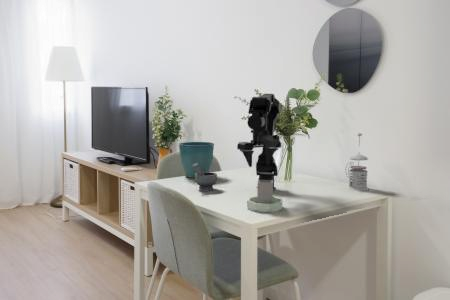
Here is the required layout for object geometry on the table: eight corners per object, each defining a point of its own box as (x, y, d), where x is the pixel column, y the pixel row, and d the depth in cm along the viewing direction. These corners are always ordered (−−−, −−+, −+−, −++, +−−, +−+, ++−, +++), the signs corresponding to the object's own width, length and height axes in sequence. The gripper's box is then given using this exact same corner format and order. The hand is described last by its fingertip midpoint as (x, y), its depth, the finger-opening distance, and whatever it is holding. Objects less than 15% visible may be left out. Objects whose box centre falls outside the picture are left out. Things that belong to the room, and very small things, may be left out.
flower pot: (175, 174, 240) (175, 142, 237) (208, 172, 245) (208, 140, 243) (183, 180, 222) (182, 146, 220) (218, 178, 228) (218, 144, 226)
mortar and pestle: (211, 186, 209) (211, 160, 208) (220, 190, 201) (220, 163, 200) (188, 188, 204) (188, 162, 203) (197, 192, 196) (197, 165, 194)
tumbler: (257, 204, 174) (258, 179, 172) (272, 204, 173) (272, 180, 172) (257, 207, 168) (257, 182, 167) (272, 208, 168) (272, 183, 166)
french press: (373, 189, 204) (376, 133, 201) (353, 191, 198) (356, 134, 195) (358, 185, 212) (360, 131, 209) (338, 187, 207) (340, 132, 204)
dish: (267, 201, 180) (267, 194, 180) (289, 209, 169) (289, 201, 169) (240, 206, 173) (240, 198, 172) (262, 214, 162) (262, 205, 162)
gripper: (253, 130, 173) (253, 171, 175) (290, 128, 183) (289, 166, 185) (236, 128, 182) (236, 167, 184) (272, 126, 192) (272, 163, 194)
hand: (259, 165), depth 187 cm, fingers open, 9 cm apart
